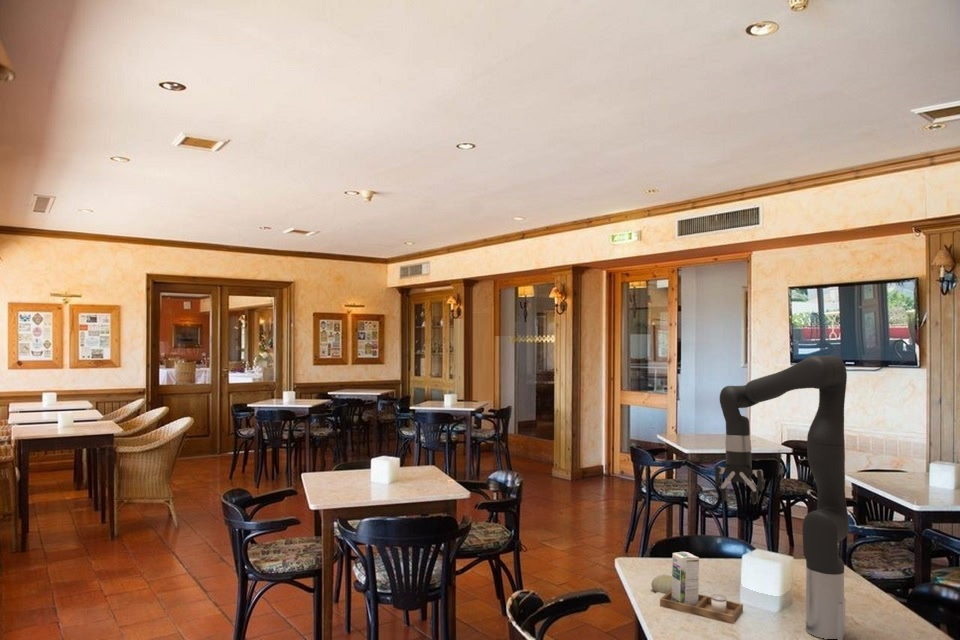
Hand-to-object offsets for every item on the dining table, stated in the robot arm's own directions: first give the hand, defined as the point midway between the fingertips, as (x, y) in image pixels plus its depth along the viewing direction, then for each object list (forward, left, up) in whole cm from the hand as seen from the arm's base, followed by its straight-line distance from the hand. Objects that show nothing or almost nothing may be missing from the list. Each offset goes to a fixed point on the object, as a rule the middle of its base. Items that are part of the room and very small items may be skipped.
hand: (739, 502), depth 209 cm
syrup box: (+11, +20, -28) cm, 36 cm away
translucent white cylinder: (+1, +20, -28) cm, 34 cm away
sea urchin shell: (+19, +10, -29) cm, 37 cm away
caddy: (+6, +20, -29) cm, 36 cm away
